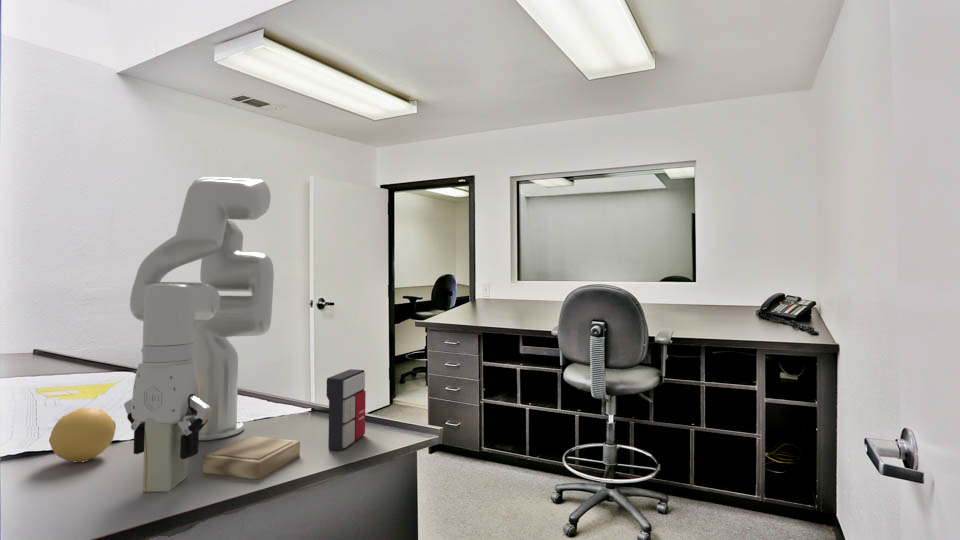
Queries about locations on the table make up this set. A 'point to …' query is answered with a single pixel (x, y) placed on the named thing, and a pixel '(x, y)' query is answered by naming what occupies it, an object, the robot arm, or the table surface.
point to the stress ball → (82, 434)
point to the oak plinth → (251, 457)
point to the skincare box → (162, 457)
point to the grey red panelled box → (346, 408)
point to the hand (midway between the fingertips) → (165, 454)
